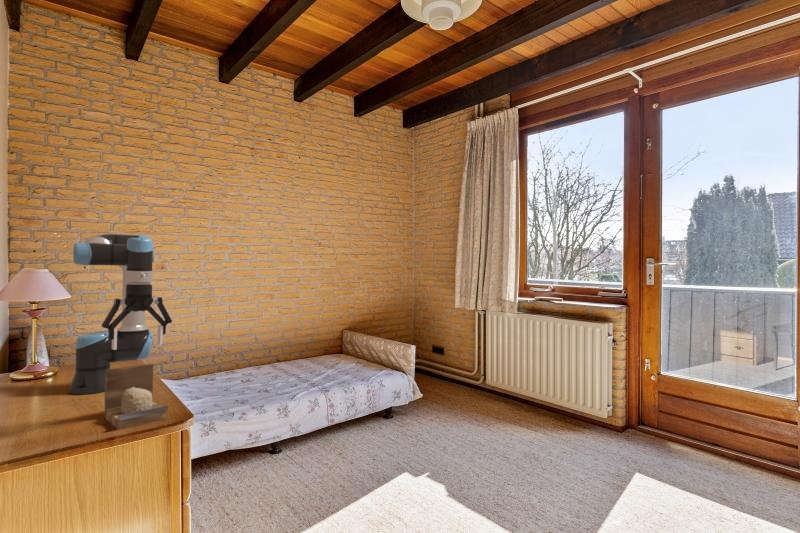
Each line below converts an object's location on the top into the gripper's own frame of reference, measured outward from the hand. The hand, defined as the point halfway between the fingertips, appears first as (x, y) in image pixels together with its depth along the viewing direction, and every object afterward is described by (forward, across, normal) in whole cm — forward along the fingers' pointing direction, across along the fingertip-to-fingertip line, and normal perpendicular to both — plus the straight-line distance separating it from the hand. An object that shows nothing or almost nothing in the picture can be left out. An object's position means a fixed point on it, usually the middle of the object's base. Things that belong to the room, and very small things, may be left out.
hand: (137, 346), depth 141 cm
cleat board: (+24, 0, 0) cm, 24 cm away
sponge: (+21, 0, 0) cm, 21 cm away
